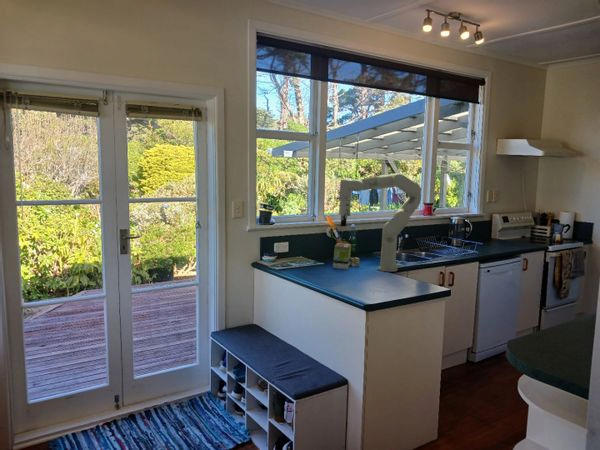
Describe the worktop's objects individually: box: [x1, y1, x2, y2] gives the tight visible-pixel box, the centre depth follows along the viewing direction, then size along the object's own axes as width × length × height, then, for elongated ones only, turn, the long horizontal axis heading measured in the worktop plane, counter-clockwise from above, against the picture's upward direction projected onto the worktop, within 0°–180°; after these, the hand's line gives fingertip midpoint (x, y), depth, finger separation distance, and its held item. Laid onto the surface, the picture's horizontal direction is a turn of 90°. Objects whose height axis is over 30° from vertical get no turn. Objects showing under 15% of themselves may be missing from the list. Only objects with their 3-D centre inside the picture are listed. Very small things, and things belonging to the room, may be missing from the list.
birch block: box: [349, 256, 360, 267], centre depth 306 cm, size 5×5×5 cm
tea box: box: [332, 242, 352, 270], centre depth 300 cm, size 15×10×15 cm
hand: (343, 226), depth 297 cm, fingers closed
